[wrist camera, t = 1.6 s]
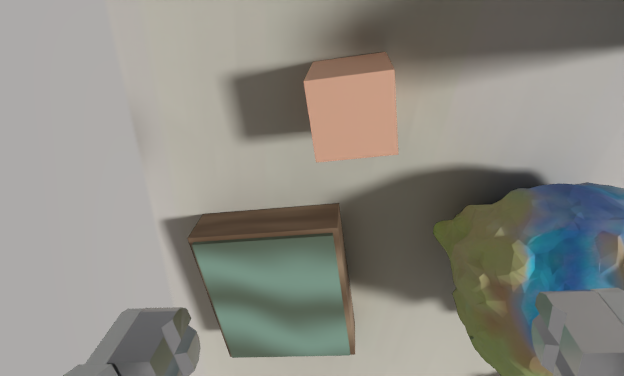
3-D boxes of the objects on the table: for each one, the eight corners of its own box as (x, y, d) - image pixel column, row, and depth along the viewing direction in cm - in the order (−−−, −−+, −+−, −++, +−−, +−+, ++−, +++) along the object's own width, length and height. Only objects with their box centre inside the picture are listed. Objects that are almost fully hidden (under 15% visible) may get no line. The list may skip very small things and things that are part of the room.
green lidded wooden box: (203, 214, 33) (185, 241, 30) (338, 203, 32) (337, 230, 28) (240, 327, 40) (229, 360, 36) (354, 323, 38) (355, 358, 35)
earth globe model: (876, 374, 15) (487, 322, 17) (631, 451, 27) (414, 417, 28) (687, 149, 25) (451, 129, 26) (567, 277, 36) (408, 258, 38)
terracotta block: (313, 61, 27) (303, 81, 21) (385, 51, 26) (394, 69, 21) (322, 129, 29) (316, 162, 24) (389, 122, 28) (398, 154, 23)
